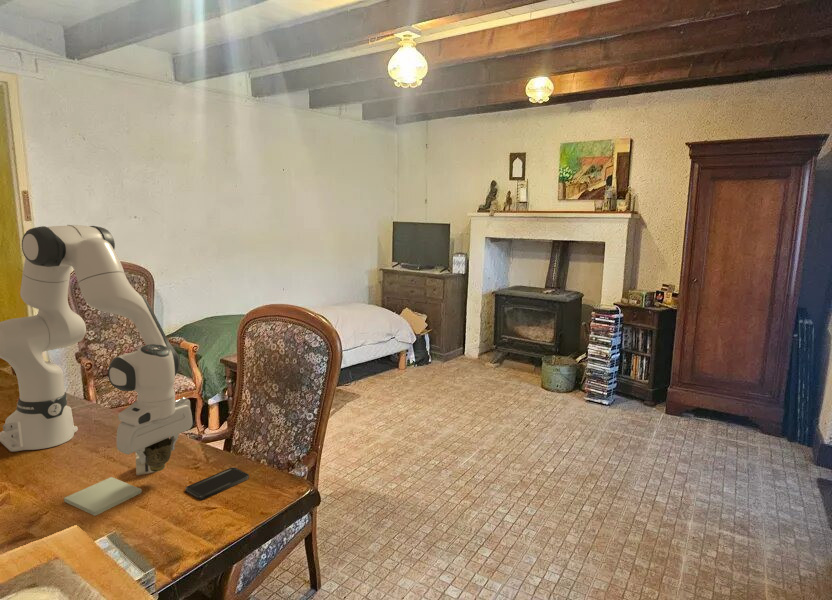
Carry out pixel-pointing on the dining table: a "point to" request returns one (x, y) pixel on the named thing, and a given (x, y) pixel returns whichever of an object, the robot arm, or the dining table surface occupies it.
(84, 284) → the robot arm
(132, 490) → the sage board
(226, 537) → the dining table surface
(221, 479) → the phone
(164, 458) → the cup
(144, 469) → the letter cube
